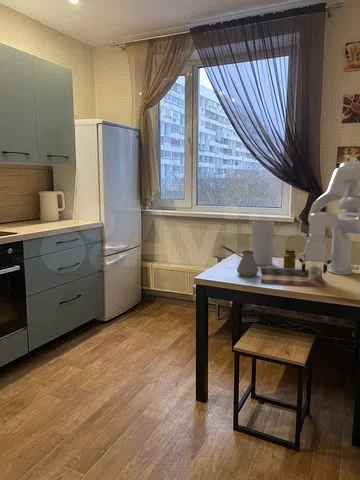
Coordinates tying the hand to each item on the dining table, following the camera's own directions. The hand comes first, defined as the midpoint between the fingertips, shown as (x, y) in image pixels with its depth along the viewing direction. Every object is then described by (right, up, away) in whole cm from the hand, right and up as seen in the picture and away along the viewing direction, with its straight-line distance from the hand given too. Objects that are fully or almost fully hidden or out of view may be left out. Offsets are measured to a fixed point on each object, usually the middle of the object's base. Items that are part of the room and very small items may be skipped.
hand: (314, 272), depth 183 cm
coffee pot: (-35, -3, +17) cm, 39 cm away
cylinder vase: (-18, +2, +39) cm, 43 cm away
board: (-11, -5, +2) cm, 12 cm away
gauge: (0, -3, -1) cm, 3 cm away
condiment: (-5, -1, +22) cm, 23 cm away
